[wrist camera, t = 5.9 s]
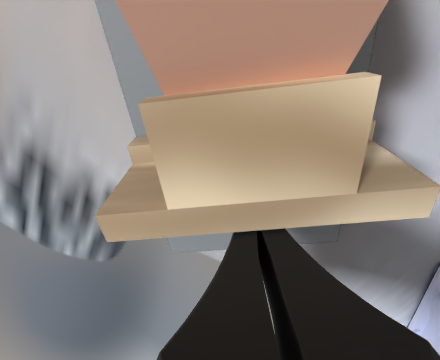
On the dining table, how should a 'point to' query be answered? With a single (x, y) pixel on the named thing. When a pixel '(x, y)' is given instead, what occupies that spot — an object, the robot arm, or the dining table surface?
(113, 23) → the slate mat
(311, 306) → the robot arm
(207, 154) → the wooden stand
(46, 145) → the dining table surface
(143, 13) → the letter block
